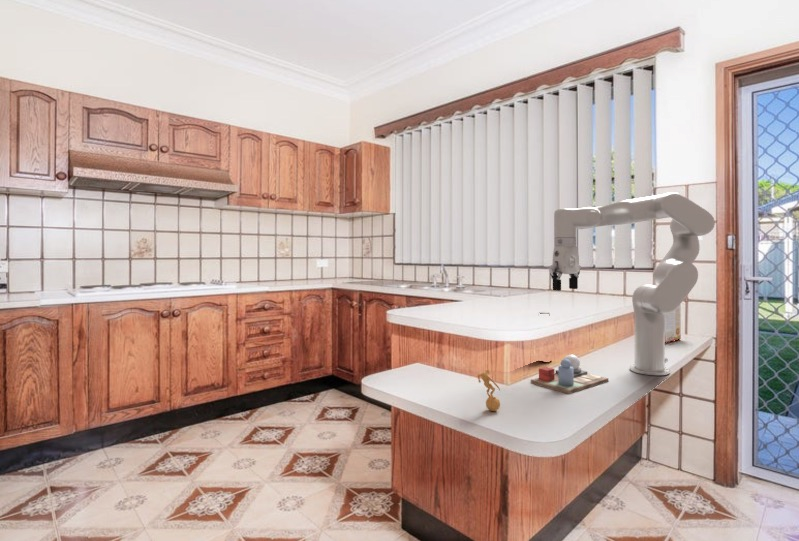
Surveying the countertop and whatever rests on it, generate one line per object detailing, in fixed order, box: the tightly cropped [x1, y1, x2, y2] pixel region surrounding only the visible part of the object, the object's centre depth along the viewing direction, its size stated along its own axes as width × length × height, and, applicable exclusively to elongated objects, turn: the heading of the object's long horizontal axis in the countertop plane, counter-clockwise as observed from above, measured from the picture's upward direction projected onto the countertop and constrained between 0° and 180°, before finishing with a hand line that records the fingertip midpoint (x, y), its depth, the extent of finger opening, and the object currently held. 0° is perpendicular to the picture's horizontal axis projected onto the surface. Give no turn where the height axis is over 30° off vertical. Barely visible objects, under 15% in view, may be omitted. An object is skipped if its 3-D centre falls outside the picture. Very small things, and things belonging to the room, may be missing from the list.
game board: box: [530, 366, 609, 395], centre depth 146 cm, size 22×14×5 cm, turn 124°
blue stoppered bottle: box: [557, 358, 574, 386], centre depth 140 cm, size 5×5×8 cm
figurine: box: [477, 369, 501, 412], centre depth 121 cm, size 8×6×12 cm
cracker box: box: [663, 303, 682, 343], centre depth 207 cm, size 14×6×21 cm, turn 119°
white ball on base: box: [563, 354, 582, 373], centre depth 152 cm, size 6×6×6 cm
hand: (565, 289), depth 158 cm, fingers open, 9 cm apart
